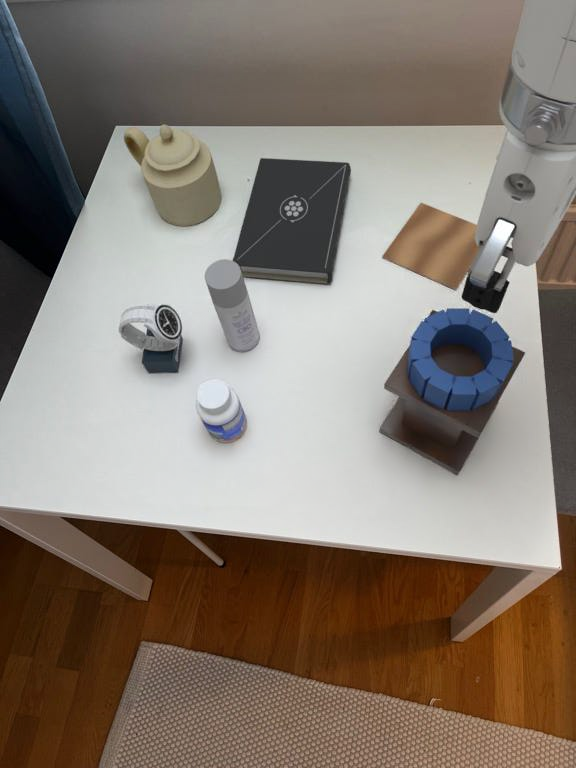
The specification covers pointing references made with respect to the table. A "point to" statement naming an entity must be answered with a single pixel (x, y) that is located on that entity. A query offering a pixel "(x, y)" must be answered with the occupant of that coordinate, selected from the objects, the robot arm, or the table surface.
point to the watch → (155, 336)
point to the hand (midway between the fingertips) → (504, 263)
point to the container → (232, 304)
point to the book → (293, 221)
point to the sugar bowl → (177, 174)
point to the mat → (435, 246)
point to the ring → (471, 333)
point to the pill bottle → (220, 410)
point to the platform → (435, 425)
